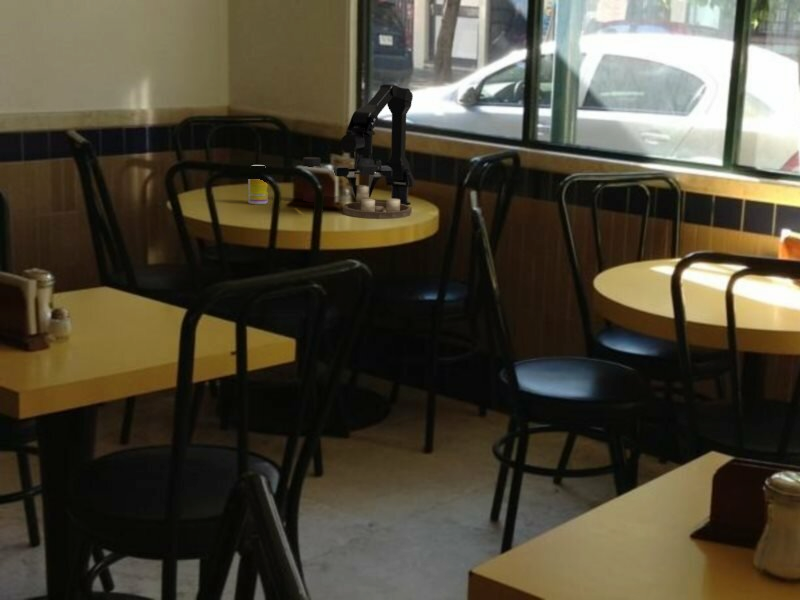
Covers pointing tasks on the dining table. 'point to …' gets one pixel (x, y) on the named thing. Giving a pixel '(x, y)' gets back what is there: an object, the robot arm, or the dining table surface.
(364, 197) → the loose bead
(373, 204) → the bead
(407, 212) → the tray
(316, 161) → the deodorant
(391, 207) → the bead
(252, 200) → the supplement bottle
